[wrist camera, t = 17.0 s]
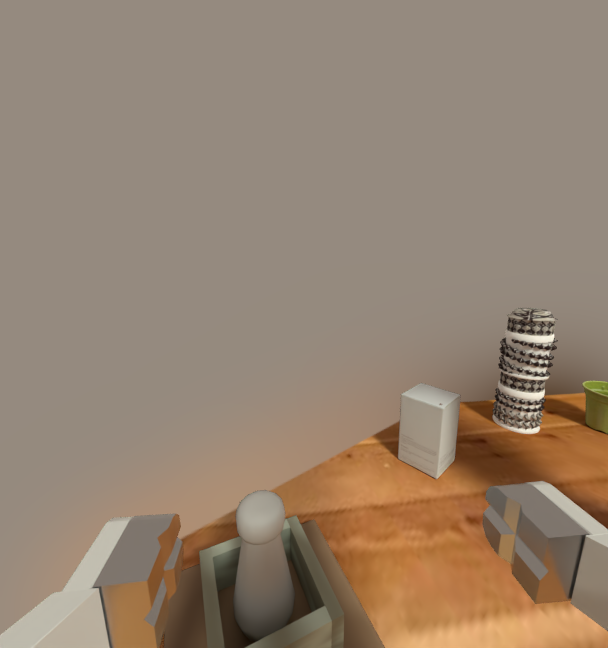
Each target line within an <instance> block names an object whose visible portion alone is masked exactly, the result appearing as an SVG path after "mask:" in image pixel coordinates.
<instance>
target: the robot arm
mask: <svg viewBox="0 0 608 648" xmlns="http://www.w3.org/2000/svg"><path fill="white" fill-rule="evenodd" d="M485 499H486V501H487V502H488V504H489V505H490V506H489V507H488V508H487V509H486V511H485V512H484V513H483V528H484V531H485V535H486V537H487V539H488V541H489V543H490V545H491V547H492V548H493V549H494V551H495V552H496V553H497V555H498V556H500V557H501V558H503V559H504V560H506V561H507V562H509V563H510V564H511V570H512V574H513V576H514V577H515V578H516V579H517V581H518V582H519V583H520V585H521V586H522V587H523V588H524V590H525V591H526V592H527V594H528V595H529V596H530V597H531V599H532V600H533V601H534V603H535V604H540V603H551V602H562V601H571V604H572V605H574V606H575V607H576V608H578V609H579V610H580V611H582V612H583V613H584V614H586V615H587V616H588V617H590V618H591V619H592V620H594V621H595V622H596V623H598V624H599V625H600V626H602V627H603V628H604V629H605V630H607V631H608V529H606V528H605V527H604V526H603V525H601V524H600V523H599V522H598V521H596V520H595V519H594V518H593V517H591V516H590V515H589V514H588V513H586V512H585V511H584V510H583V509H581V508H580V507H579V506H577V505H576V504H575V503H574V502H572V501H571V500H570V499H569V498H567V497H566V496H565V495H564V494H562V493H561V492H560V491H559V490H557V489H556V488H555V487H553V486H552V485H551V484H549V483H547V482H544V481H538V482H528V483H519V484H509V485H499V486H490V487H489V489H488V490H487V492H486V498H485ZM180 527H181V525H180V518H179V515H178V514H163V515H147V516H134V517H123V518H122V517H120V518H112V519H111V520H109V521H108V522H107V523H106V524H105V526H104V527H103V529H102V530H101V532H100V533H99V535H98V536H97V538H96V539H95V541H94V543H93V544H92V546H91V547H90V549H89V550H88V552H87V553H86V555H85V556H84V558H83V559H82V561H81V562H80V564H79V565H78V567H77V569H76V570H75V572H74V573H73V575H72V576H71V578H70V579H69V581H68V582H67V584H66V586H65V587H64V588H63V590H62V592H55V593H53V594H51V595H50V596H49V597H47V599H45V600H44V601H42V603H40V604H39V605H37V606H36V607H35V608H34V609H32V610H31V611H30V612H29V613H27V614H26V615H25V616H24V617H22V618H21V619H20V620H19V621H17V622H16V623H15V624H14V625H12V626H11V627H10V628H9V629H7V630H6V631H5V632H3V633H2V634H1V635H0V648H159V647H160V644H161V640H162V637H163V634H164V631H165V627H166V624H167V621H168V617H169V605H168V600H169V599H170V598H171V597H172V595H173V594H174V593H175V592H176V591H177V587H178V584H179V580H180V576H181V570H182V564H183V543H182V541H181V540H180V539H179V538H178V537H177V536H178V533H179V530H180Z"/></svg>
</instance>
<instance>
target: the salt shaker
mask: <svg viewBox="0 0 608 648" xmlns="http://www.w3.org/2000/svg"><path fill="white" fill-rule="evenodd" d="M284 521H285V509H284V505H283V502H282V499H281V498H280V497H279V496H278V495H277V494H276V493H273V492H270V491H267V490H261V491H256V492H253V493H251V494H249V495H247V496H246V497H245V498H244V499H243V500H242V501H241V502H240V504H239V506H238V508H237V510H236V523H237V531H238V534H239V535H240V536H241V538H242V543H241V550H240V557H239V563H238V570H237V577H236V584H235V590H234V597H233V606H234V616H235V620H236V622H237V623H238V625H239V627H240V628H241V630H242V632H243V633H244V634H245V635H246V636H247V637H248V638H249V640H251V641H259V640H261V639H262V638H264V637H266V636H268V635H270V634H272V633H274V632H276V631H278V630H280V629H281V628H283V627H285V626H286V624H287V622H288V621H289V619H290V617H291V615H292V613H293V606H294V598H295V591H294V587H293V584H292V580H291V575H290V571H289V567H288V563H287V559H286V555H285V550H284V546H283V542H282V538H281V534H280V533H281V532H282V530H283V526H284Z"/></svg>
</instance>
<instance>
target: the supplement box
mask: <svg viewBox="0 0 608 648" xmlns="http://www.w3.org/2000/svg"><path fill="white" fill-rule="evenodd" d="M460 396H461V395H460V394H456V393H453V392H449V391H446V390H443V389H439V388H436V387H433V386H430V385H426V384H423V383H420V384H418V385H417V386H415V387H413V388H411V389H410V390H408V391H406V392H404V393H402V394H401V409H400V427H399V447H398V459H399V460H401V461H403V462H405V463H407V464H409V465H411V466H413V467H415V468H417V469H419V470H420V471H422V472H424V473H426V474H428V475H430V476H432V477H434V478H436V479H437V478H438V477H439V476H440V475H441V474H442V473H443V472H444V471H445V470H446V469H447V468H448V467H449V466H450V465H451V463H452V462H453V461H454V460H455V450H456V439H457V429H458V419H459V408H460Z"/></svg>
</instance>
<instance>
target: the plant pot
mask: <svg viewBox="0 0 608 648" xmlns="http://www.w3.org/2000/svg"><path fill="white" fill-rule="evenodd" d="M582 385H583V387H584V389H585V394H586V419H585V422H586V424H587V425H588V426H590V427H591V428H593V429H595V430H600V431H603V432H605V433H606V434H608V382H602V381H586V382H583V384H582Z"/></svg>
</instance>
